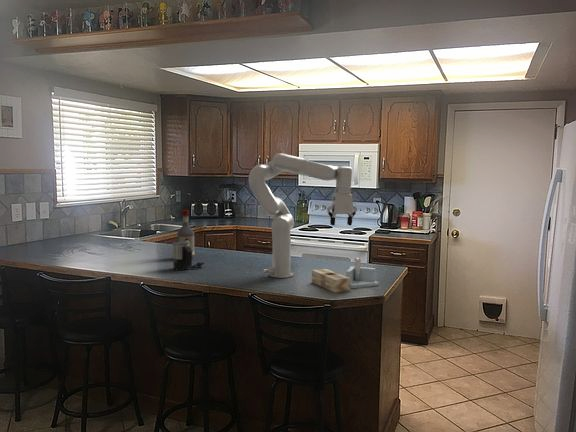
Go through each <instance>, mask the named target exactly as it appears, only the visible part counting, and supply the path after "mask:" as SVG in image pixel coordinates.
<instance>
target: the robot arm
mask: <svg viewBox="0 0 576 432" xmlns="http://www.w3.org/2000/svg"><path fill="white" fill-rule="evenodd" d="M284 172H286V173H287V172H288V173H292V174H295V175H299V176H303V177H304V176H305V177H308V178H309V177H310V178H314V179H317V180H322V181H327V182H329V181H335V188H333V192H334V194H333V198H332V203H331V204H332V205H330V206H327V208H325V209H326V213H327V215H328V216H329V217H330V219H329V220H330V221H329V222H330V225H331V226H336V225H335V224H336V215H347V219H346V220H347V222H346V223H347V224H346V225H347V226H352V223H353V218H354V216H355V215H357V214H356V213H357V211H358V208H357V207H355V206H354V199H353V194H351V190H352V177H353V175H352V174H353V169H352V167H351V166H335V165H330V164H328V165H327V164H324V163H320V162H315V161H311V160H309V159H308V158H307V159H306V158H303V157H299V156H295V155H290V154H287V153H282V152H281V153H280V152H278V153H275V155H273V156H272V159H271V160H270V161H268V162H267V163H265V164H257V165H255V166H253V167H252V169H251V170H250V171H249V175H248V185H249V188H250V190H251V192H252V193H253V195H254V197H255V198H256V200H257V202H258V204H259V205H260V207H261V209H262V210H263V212H264V213H265V214H266V215H267V216H269V217H272V218H273V220H272V223H271V235H272V237H271V238H272V266H270V268H264V269H263V273H264V274H266V273H267V274H269V276H270V277H272V278H276V279H277V278H278V279H279V278H281V279H285V278H292V277H293V276H294V272H292V271H291V267H292V264H291V263H292V262H291V261H292V259H291V257H292V253H291V251H292V250H291V247H292V241H291V239H292V238H291V231H292V230H293V228H294V226H295V220H294V217H293V215H292V214H291V212H290V211H289V209H288V207H287V205H286V203H285V202H284V200H283V199H281V197H277V196H275V195H274V194H273V192H272V190H271V189H270V187H269V185H268V184H267V183H266V181H269V180H271V179H274V177H275V178H276V176H278V175H280V174H282V173H284Z"/></svg>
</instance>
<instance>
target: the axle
mask: <svg viewBox="0 0 576 432" xmlns="http://www.w3.org/2000/svg"><path fill="white" fill-rule="evenodd" d="M361 259H362V258H360V257H355V258H354V260H353V261H354V264H353V265H354V281H360V267H362V265H361Z"/></svg>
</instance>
